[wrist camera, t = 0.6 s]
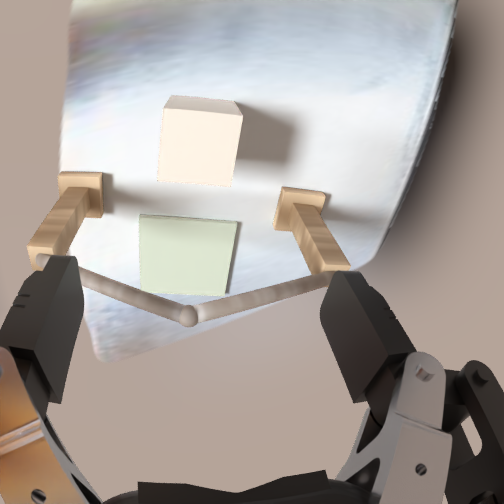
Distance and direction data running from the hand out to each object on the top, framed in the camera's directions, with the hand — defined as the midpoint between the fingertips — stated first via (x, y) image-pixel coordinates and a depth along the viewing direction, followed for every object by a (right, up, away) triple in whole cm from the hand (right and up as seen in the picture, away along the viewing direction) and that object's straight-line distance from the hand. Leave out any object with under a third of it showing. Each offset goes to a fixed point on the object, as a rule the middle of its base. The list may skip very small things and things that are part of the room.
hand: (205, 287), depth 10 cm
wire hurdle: (-4, +6, +19) cm, 20 cm away
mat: (-5, +1, +22) cm, 23 cm away
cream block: (-3, +11, +15) cm, 19 cm away
